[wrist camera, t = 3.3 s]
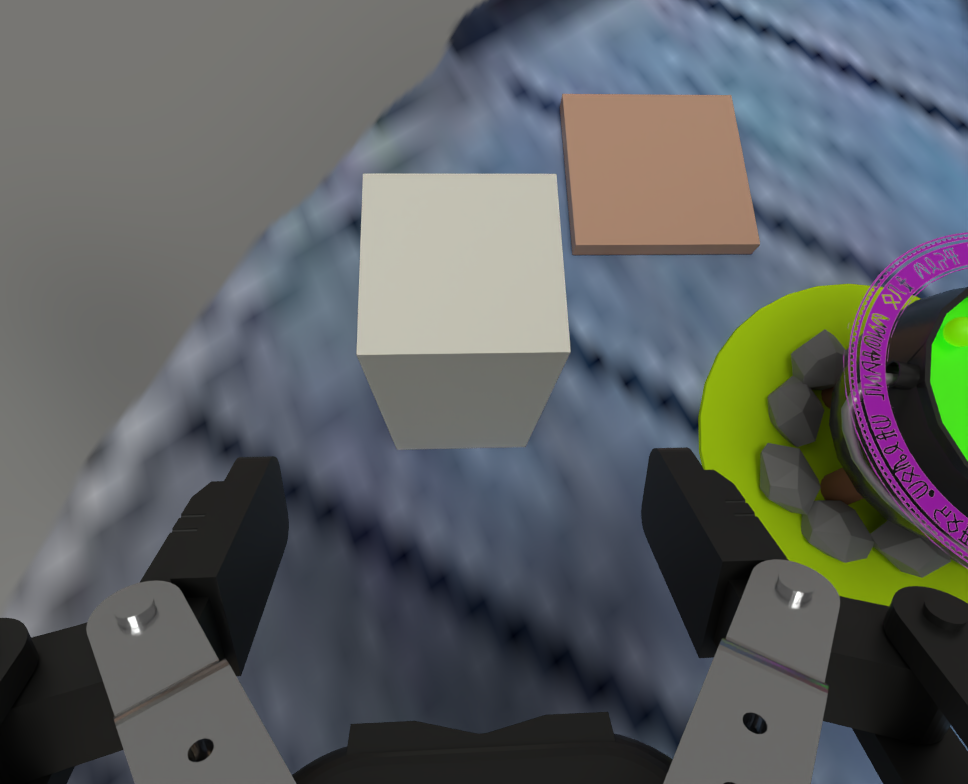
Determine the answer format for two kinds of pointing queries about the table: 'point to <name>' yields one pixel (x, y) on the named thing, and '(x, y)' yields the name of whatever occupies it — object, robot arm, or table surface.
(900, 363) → the toy cauldron
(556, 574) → the table surface
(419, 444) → the plain off-white block
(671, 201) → the coaster
